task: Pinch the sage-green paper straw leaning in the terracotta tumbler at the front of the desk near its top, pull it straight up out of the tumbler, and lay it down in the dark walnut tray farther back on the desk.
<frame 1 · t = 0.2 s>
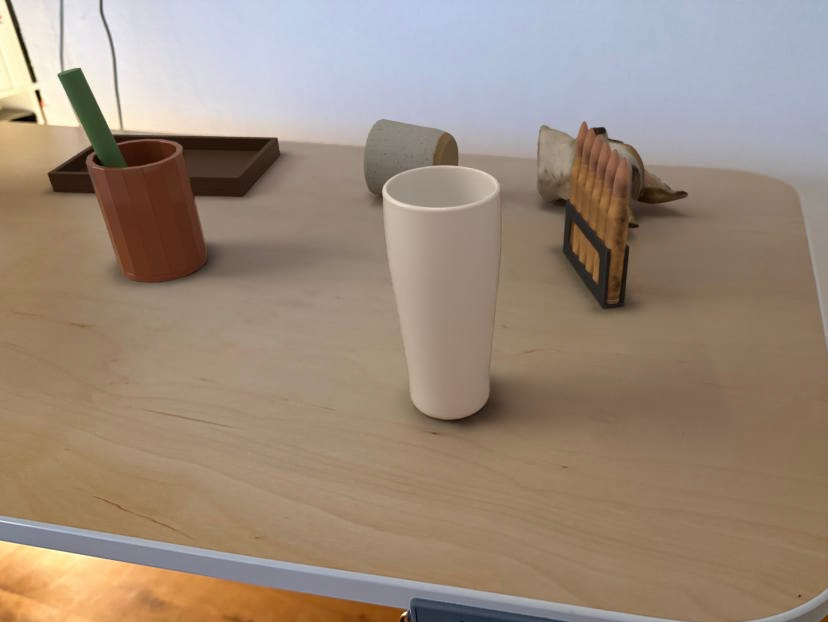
ceramic sculpture: (596, 213, 76), on the table
ammunition clip: (591, 278, 64), on the table
tumbler: (165, 262, 67), on the table
tray: (173, 172, 86), on the table
straw: (157, 254, 67), point 1 cm above the table, touching tumbler
ceramic mug: (417, 193, 80), on the table
drinking glass: (450, 401, 50), on the table
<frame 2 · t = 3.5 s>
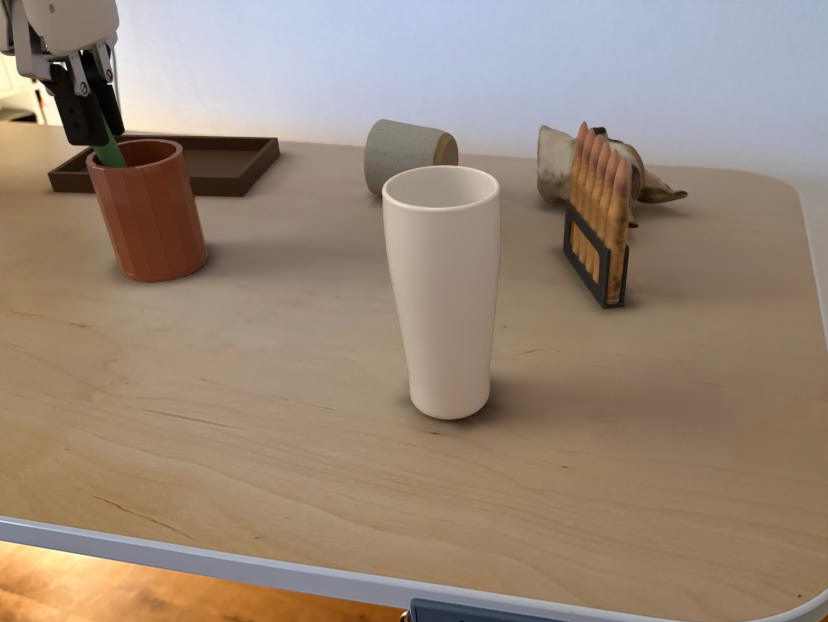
hand: (97, 137, 61), 11 cm above the table, tool pointing down, fingers closed on straw, 1 cm apart
straw: (157, 254, 67), point 1 cm above the table, touching gripper, tumbler
everything else where it was.
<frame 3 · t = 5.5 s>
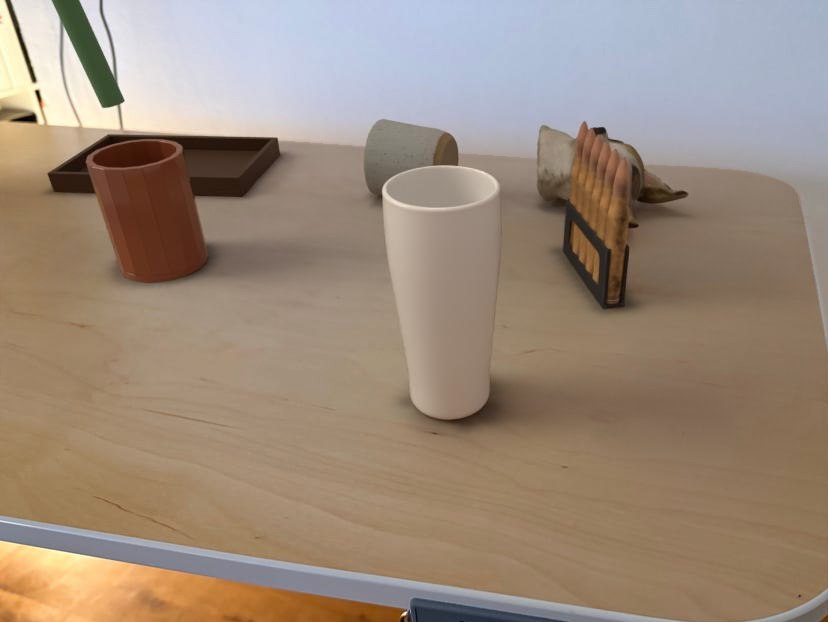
straw: (113, 104, 59), point 14 cm above the table, touching gripper
everything else where it was.
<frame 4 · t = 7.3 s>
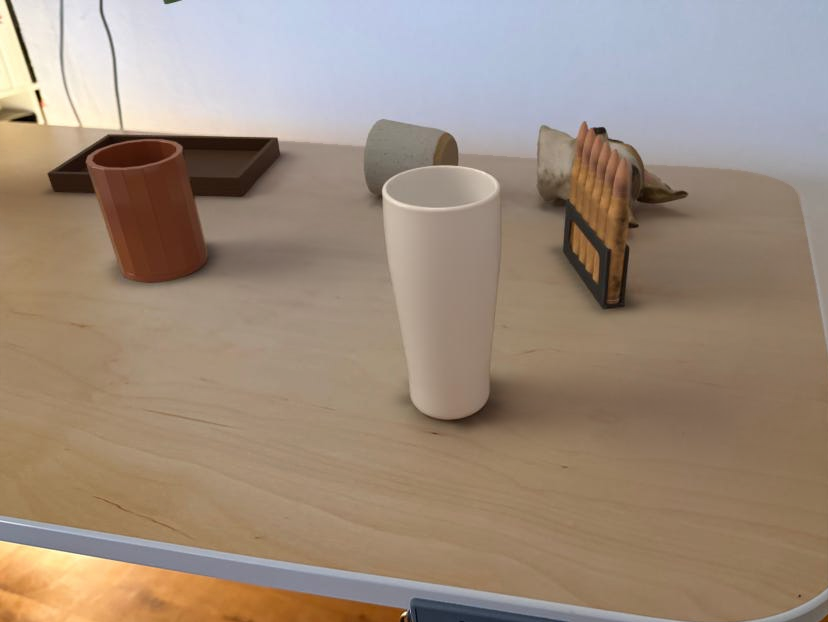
straw: (174, 1, 70), point 19 cm above the table, touching gripper
everything else where it was.
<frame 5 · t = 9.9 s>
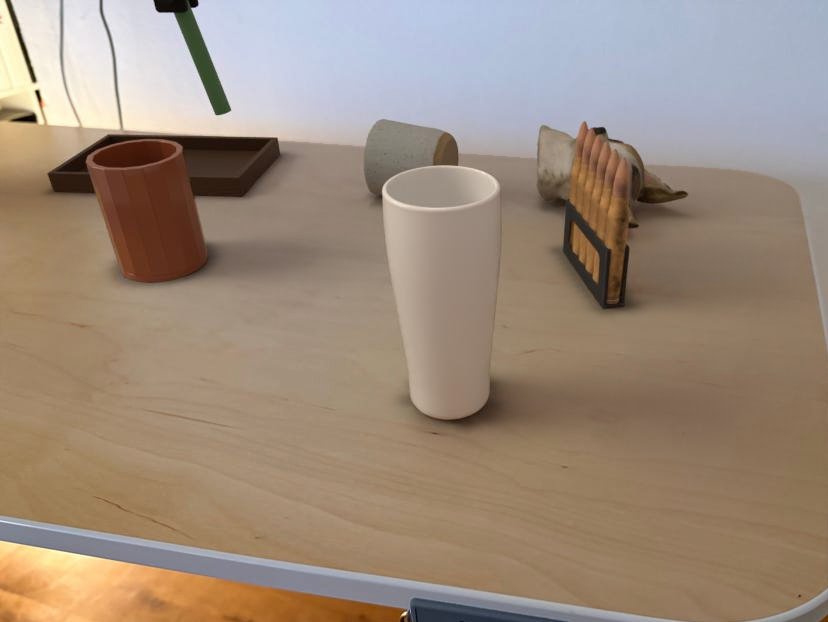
hand: (177, 8, 76), 17 cm above the table, tool pointing down, fingers closed on straw
straw: (223, 112, 81), point 7 cm above the table, touching gripper
everything else where it was.
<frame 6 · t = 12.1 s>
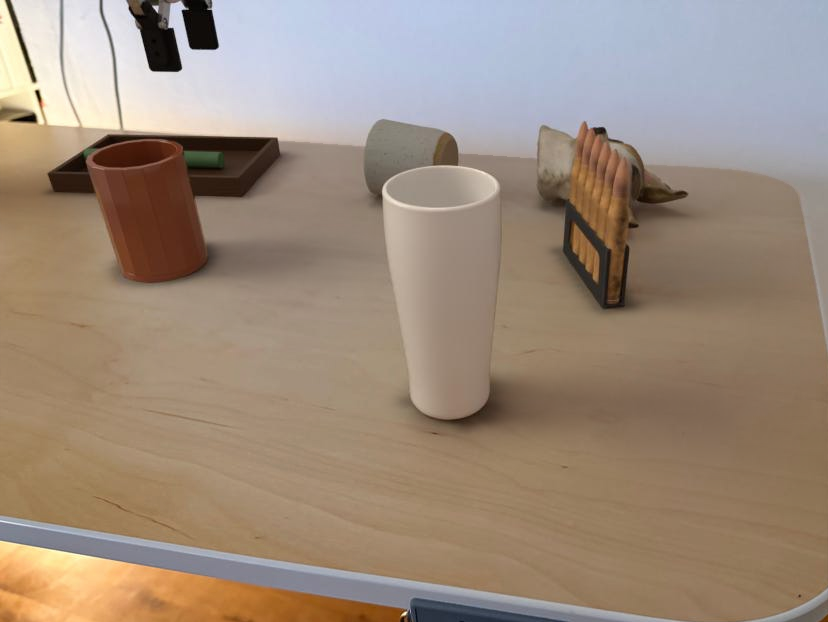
hand: (186, 59, 78), 12 cm above the table, tool pointing down, fingers open, 9 cm apart
straw: (221, 160, 85), point 1 cm above the table, tilted 80°, touching tray
everything else where it was.
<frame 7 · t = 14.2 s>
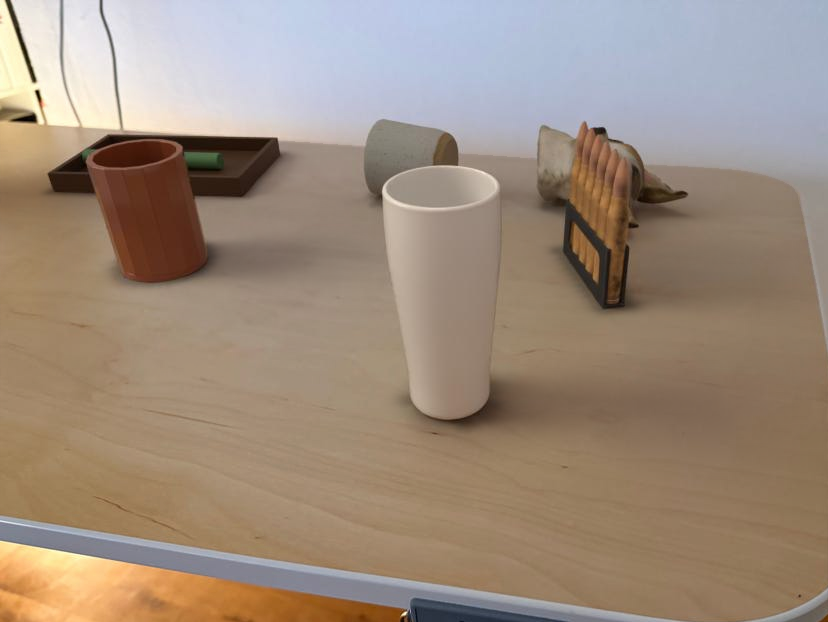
nothing on the table moved.
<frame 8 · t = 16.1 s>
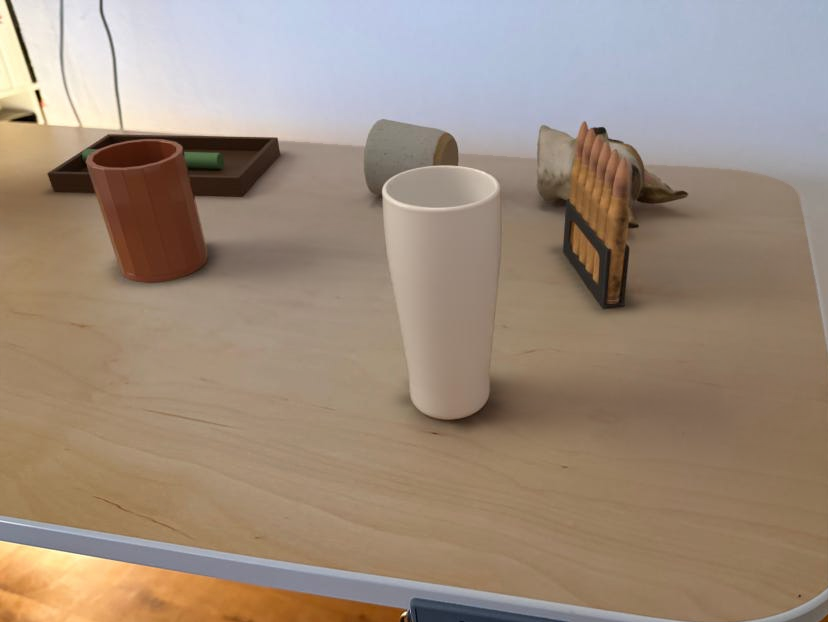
nothing on the table moved.
at the end: straw inside the target area in the tray (6.0 cm from its centre), point 1.5 cm above the tray's base; straw tilted 80°; the gripper is holding nothing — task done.
